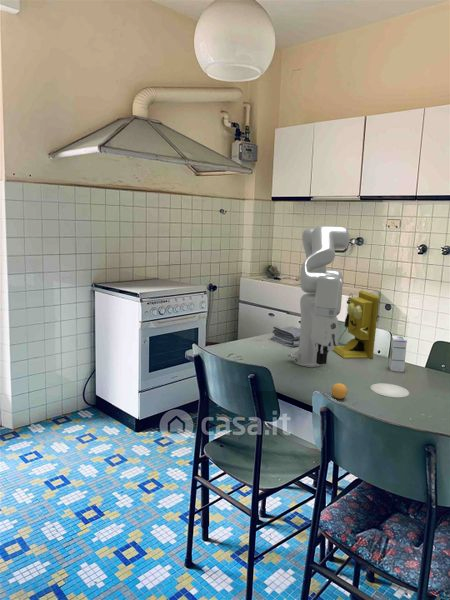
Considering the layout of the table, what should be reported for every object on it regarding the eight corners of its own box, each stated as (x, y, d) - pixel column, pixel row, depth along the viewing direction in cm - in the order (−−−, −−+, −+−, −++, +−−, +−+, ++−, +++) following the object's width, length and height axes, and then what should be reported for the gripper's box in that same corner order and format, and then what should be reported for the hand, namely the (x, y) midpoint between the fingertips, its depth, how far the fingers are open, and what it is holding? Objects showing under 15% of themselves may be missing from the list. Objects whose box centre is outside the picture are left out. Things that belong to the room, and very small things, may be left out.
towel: (293, 348, 226) (294, 333, 224) (269, 340, 240) (270, 325, 239) (314, 344, 235) (315, 330, 233) (290, 336, 249) (291, 322, 248)
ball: (331, 400, 162) (333, 385, 161) (330, 394, 167) (331, 380, 166) (347, 401, 161) (349, 387, 160) (345, 395, 166) (346, 381, 165)
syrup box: (404, 372, 196) (408, 339, 193) (389, 370, 197) (393, 338, 194) (401, 368, 201) (405, 336, 199) (387, 366, 202) (391, 335, 200)
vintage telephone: (324, 344, 236) (328, 287, 230) (349, 343, 238) (354, 287, 233) (349, 363, 205) (355, 298, 200) (378, 363, 208) (385, 298, 202)
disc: (374, 395, 167) (374, 395, 167) (367, 382, 181) (367, 382, 181) (414, 399, 166) (414, 398, 166) (403, 385, 180) (403, 384, 180)
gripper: (348, 315, 149) (343, 369, 152) (321, 307, 163) (317, 356, 166) (329, 316, 146) (325, 371, 149) (303, 308, 160) (300, 358, 163)
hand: (321, 363), depth 157 cm, fingers closed
